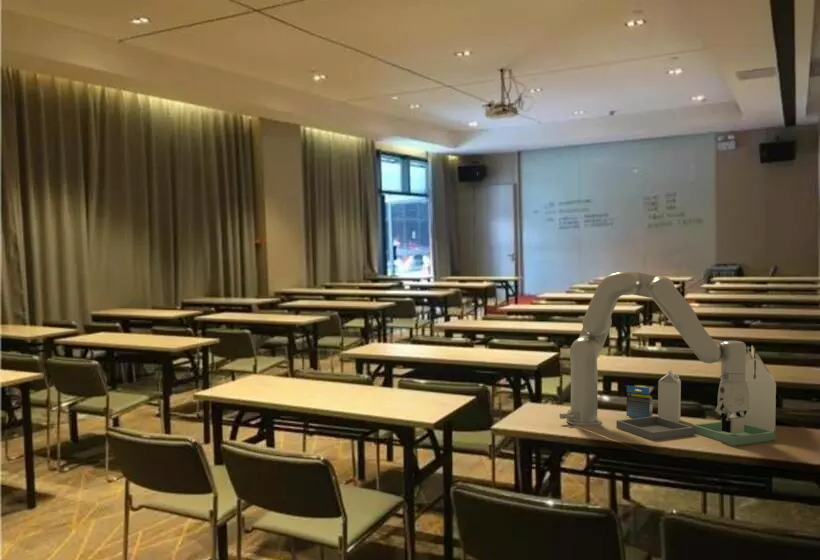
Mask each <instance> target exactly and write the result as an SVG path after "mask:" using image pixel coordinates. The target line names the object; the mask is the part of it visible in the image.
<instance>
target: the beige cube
mask: <svg viewBox="0 0 820 560" xmlns="http://www.w3.org/2000/svg"><path fill="white" fill-rule="evenodd" d="M720 421H721V431H722V419H720ZM729 421H731V423H730V433H731V434H737V433H744V418H743V417H739V416H735V415H732V414H730V419H729Z"/></svg>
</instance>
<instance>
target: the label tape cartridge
mask: <svg viewBox="0 0 820 560" xmlns="http://www.w3.org/2000/svg"><path fill="white" fill-rule="evenodd" d="M627 416H631V417H630V418H643V417H652V416H653V396H652V395H651V394H650V387H645V386H636V385H628V384H627V385H626V417H627Z"/></svg>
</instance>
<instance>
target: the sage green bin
mask: <svg viewBox="0 0 820 560" xmlns="http://www.w3.org/2000/svg"><path fill="white" fill-rule="evenodd" d="M691 427H694V434H697V435H699V436H702V437H706V438H710V439H712V440H716V441H719V442H721V443H723V444H725V445H727V446H730V447H733V448H736V447H744V446H748V445H757V444H763V443H771V441H772V442H776V431H775V432H773V431H769V430H766V429H762V428H758V427H754V426H751V425H747V424H744V433H737V434H731V433H728V432H724V431H721V420H720V421H712V422H704V423H697V424H696V423H695V424H691Z"/></svg>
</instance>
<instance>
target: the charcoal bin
mask: <svg viewBox="0 0 820 560" xmlns="http://www.w3.org/2000/svg"><path fill="white" fill-rule="evenodd" d="M615 424H616V429H618V430H622V431H625V432H627V433H631V434H633V435H637V436H639V437H642V438H643V439H644V438H645V439H647V440H650V441H658V440H666V439H672V438H673V439H674V438H680V437H687V436H694V435H695V433H694V427H692V425H691V426H690V425H687V424H684V423H681V422H679V423H678V422H675V421H671V420H668V419H665V418H661V417H658V415H654V416H653V415H652V417H643V418H637V417H633V418H627V419H618V420H616V422H615Z"/></svg>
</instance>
